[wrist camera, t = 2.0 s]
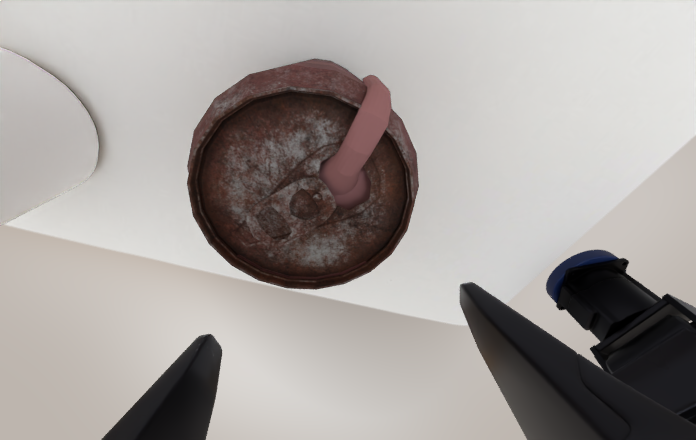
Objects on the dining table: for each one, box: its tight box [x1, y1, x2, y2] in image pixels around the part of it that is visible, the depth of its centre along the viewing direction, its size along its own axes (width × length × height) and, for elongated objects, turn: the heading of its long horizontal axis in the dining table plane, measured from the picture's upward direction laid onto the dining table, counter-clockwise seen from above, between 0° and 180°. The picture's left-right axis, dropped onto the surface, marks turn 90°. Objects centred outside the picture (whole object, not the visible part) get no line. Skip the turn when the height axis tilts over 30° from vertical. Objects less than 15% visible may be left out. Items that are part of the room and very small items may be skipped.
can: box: [187, 59, 419, 289], centre depth 13 cm, size 6×6×14 cm
